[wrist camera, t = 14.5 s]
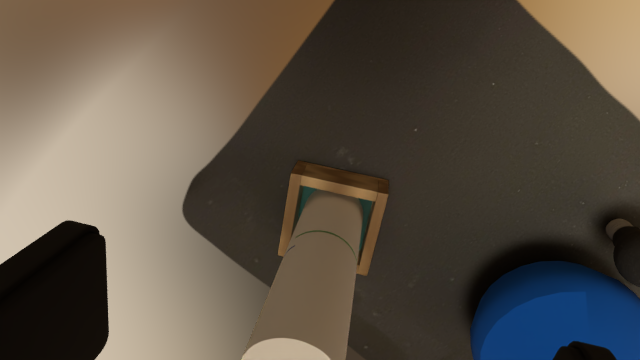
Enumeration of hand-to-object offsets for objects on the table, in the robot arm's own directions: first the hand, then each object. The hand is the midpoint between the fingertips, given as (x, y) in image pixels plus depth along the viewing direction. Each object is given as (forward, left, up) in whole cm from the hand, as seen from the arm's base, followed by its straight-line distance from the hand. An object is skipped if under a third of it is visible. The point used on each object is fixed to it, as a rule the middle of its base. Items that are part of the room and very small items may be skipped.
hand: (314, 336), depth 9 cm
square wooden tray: (-1, -18, -40) cm, 44 cm away
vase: (+26, -24, -40) cm, 54 cm away
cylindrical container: (-1, -18, -40) cm, 44 cm away
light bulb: (+30, -12, -40) cm, 52 cm away
